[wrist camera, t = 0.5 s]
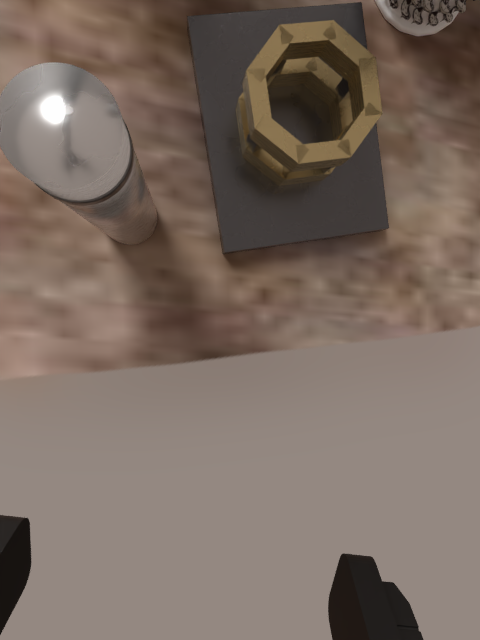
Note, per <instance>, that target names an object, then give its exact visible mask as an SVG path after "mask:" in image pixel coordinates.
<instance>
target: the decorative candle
mask: <svg viewBox="0 0 480 640" xmlns="http://www.w3.org/2000/svg"><path fill="white" fill-rule="evenodd" d="M374 1H375V3H376V4H377V6H378V8H379V10H380V11H381V13H382V15H383V17H384V19H385V20H387V21H388V22H389V23H390V24H392V25H393V26H394V27H395V28H396V29H398V30H399V31H400V32H404V33H407V34H410V35H414V36H417V37H418V36H425V35H432V34H436V33H437V32H439V31H440V30H442V29H443V28H445V27H446V26H448V25H450V24H451V23H452V22H453V20H454V19H455V17H456V16H457V14H458V13H464V12H465V10H466V0H374ZM473 1H475V0H473Z"/></svg>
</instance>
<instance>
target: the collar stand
mask: <svg viewBox="0 0 480 640" xmlns="http://www.w3.org/2000/svg"><path fill="white" fill-rule="evenodd" d="M187 30H188V36H189V43H190V49H191V55H192V62H193V68H194V74H195V81H196V87H197V93H198V100H199V106H200V112H201V119H202V125H203V132H204V138H205V144H206V151H207V157H208V163H209V170H210V176H211V182H212V189H213V195H214V201H215V208H216V214H217V221H218V227H219V233H220V240H221V246H222V252H223V254H226V253H233V252H240V251H247V250H253V249H260V248H267V247H274V246H281V245H287V244H294V243H301V242H308V241H315V240H321V239H328V238H335V237H342V236H349V235H355V234H362V233H369V232H376V231H382V230H385V229H388V228H389V225H388V217H387V208H386V200H385V192H384V184H383V176H382V167H381V159H380V151H379V143H378V134H377V126H376V122H377V120H378V119H379V118H380V116H381V115H382V107H381V99H380V91H379V82H378V74H377V66H376V57H374V56H373V55H372V54H371V53H370V52H369V51H368V50H367V44H366V36H365V27H364V19H363V11H362V3H361V2H359V3H347V4H334V5H322V6H309V7H297V8H284V9H272V10H260V11H247V12H235V13H222V14H210V15H197V16H187Z"/></svg>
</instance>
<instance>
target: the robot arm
mask: <svg viewBox="0 0 480 640" xmlns="http://www.w3.org/2000/svg"><path fill="white" fill-rule="evenodd" d="M30 568H31V544H30V522H29V519H28V518H21V517H13V516H3V515H0V634H1V632H2V630H3V629H4V627H5V625H6V623H7V621H8V619H9V617H10V615H11V613H12V611H13V609H14V608H15V606H16V604H17V602H18V600H19V598H20V596H21V594H22V592H23V590H24V588H25V586H26V583H27V580H28V577H29V573H30ZM328 612H329V623H330V628H331V634H332V639H333V640H423V638H422V635H421V632H419V630H418V624H417V622H416V619H415V617H414V614H413V611H412V609H411V606H410V604H409V602H408V601H407V600H406V598H405V597H404V596H403V594H402V593H401V592H400V590H399V589H398V588H397V586H396V585H395V584H394V583H392V582H382V580H381V577H380V575H379V571H378V568H377V565H376V563H375V561H374V559H373V558H372V557H370V556H361V555H352V554H342V555H341V557H340V560H339V563H338V566H337V570H336V574H335V577H334V581H333V584H332V588H331V592H330V595H329V605H328Z"/></svg>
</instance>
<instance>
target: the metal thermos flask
mask: <svg viewBox="0 0 480 640" xmlns="http://www.w3.org/2000/svg"><path fill="white" fill-rule="evenodd" d="M0 146H1V149H2V151H3V152H4V154H5V156H6V157H7V159H8V160H9V161H10V163H11V164H12V165H13V166H14V167H15V168H16V169H17V170H18V171H19V172H20V173H22V174H23V175H24V176H25V177H27V178H28V179H30V180H31V181H33V182H34V183H35V184H36V185H37V186H38V187H39V188H41V189H42V190H43V191H44V192H46V193H47V194H49V195H50V196H52V197H53V198H55V199H57V200H59V201H61V202H62V203H63V204H65V205H66V206H68V207H69V208H70V209H72V210H73V211H75V212H76V213H77V214H79V215H80V216H82V217H83V218H84V219H86V220H87V221H89V222H90V223H92V224H93V225H94V226H96V227H97V228H99V229H100V230H101V231H103V232H104V233H106V234H107V235H108V236H110V237H111V238H113V239H114V240H116V241H117V242H120V243H123V244H127V245H133V244H138V243H141V242H143V241H145V240H146V239H148V238H149V237H150V236H151V235H152V233H153V232H154V230H155V228H156V225H157V212H156V208H155V206H154V203H153V200H152V197H151V195H150V192H149V189H148V187H147V184H146V181H145V178H144V176H143V173H142V170H141V167H140V165H139V162H138V159H137V157H136V154H135V151H134V148H133V144H132V140H131V137H130V134H129V131H128V129H127V126H126V124H125V122H124V120H123V118H122V116H121V113H120V110H119V108H118V105H117V103H116V101H115V99H114V97H113V95H112V94H111V93H110V91H109V90H108V88H107V87H106V86H105V85H104V84H103V83H102V82H101V81H100V80H99V79H98V78H96V77H95V76H94V75H92V74H91V73H89V72H87V71H85V70H84V69H82V68H79V67H76V66H74V65H70V64H65V63H44V64H39V65H35V66H32V67H30V68H28V69H25V70H24V71H22V72H21V73H19V74H18V75H16V76H15V77H14V78H13V79H12V80H11V81H10V82H9V83H8V84H7V86H6V87H5V89H4V90H3V92H2V94H1V96H0Z"/></svg>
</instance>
